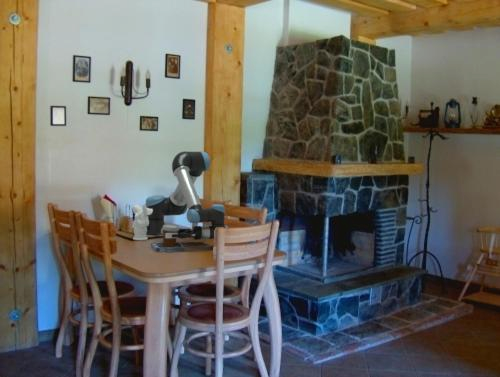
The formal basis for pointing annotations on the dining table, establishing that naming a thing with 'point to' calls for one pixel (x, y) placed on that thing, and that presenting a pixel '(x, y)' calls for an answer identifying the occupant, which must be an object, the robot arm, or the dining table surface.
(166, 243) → the disposable coffee cup
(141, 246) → the dining table surface
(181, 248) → the two-bay frame
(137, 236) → the cherub figurine
